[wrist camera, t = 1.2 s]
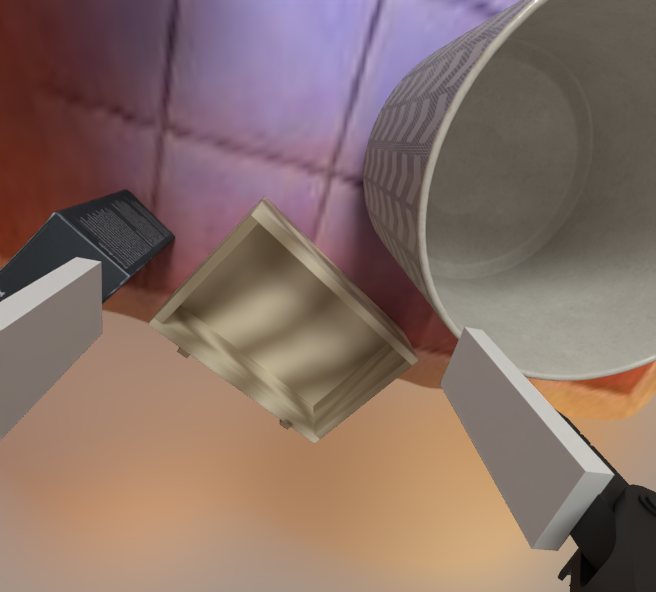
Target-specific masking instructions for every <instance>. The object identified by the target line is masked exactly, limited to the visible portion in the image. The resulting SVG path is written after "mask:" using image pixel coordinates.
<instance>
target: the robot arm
mask: <svg viewBox="0 0 656 592" xmlns="http://www.w3.org/2000/svg"><path fill="white" fill-rule="evenodd" d="M101 334H102V264H101V261H95V260H90V259H84V258H78V257H76V258H74V259H72V260H71V261H69V262H67V263H66V264H64V265H62V266H60V267H59V268H57V269H55V270H54V271H52V272H50V273H49V274H47V275H45V276H43V277H42V278H40V279H38V280H37V281H35V282H33V283H32V284H30V285H28V286H26V287H25V288H23V289H21V290H20V291H18V292H16V293H15V294H13V295H11V296H9V297H8V298H6V299H4V300H3V301H1V302H0V440H1V439H2V438H3V437H4V436H5V435H6V434H7V433H8V432H9V431H10V430H11V429H12V428H13V427H14V426H15V424H17V422H18V421H19V420H20V419H21V418H22V417H23V416H24V415H25V414H26V413H27V412H28V411H29V410H30V409H31V408H32V407H33V405H34V404H36V402H37V401H38V400H39V399H40V398H41V397H42V396H43V395H44V394H45V393H46V392H47V391H48V390H49V389H50V388H51V387H52V385H54V383H55V382H56V381H57V380H58V379H59V378H60V377H61V376H62V375H63V374H64V373H65V372H66V371H67V370H68V369H69V368H70V366H72V364H73V363H74V362H75V361H76V360H77V359H78V358H79V357H80V356H81V355H82V354H83V353H84V352H85V351H86V350H87V349H88V347H90V345H91V344H92V343H93V342H94V341H95V340H96V339H97V338H98V337H99V336H100V335H101ZM440 385H441V387H442V389H443V390H444V392H445V394H446V395H447V398H448V399H449V401H450V403H451V405H452V406H453V408H454V410H455V412H456V414H457V416H458V417H459V419H460V421H461V423H462V425H463V426H464V428H465V430H466V432H467V433H468V435H469V437H470V439H471V441H472V443H473V444H474V446H475V448H476V450H477V452H478V453H479V455H480V457H481V458H482V461H483V462H484V464H485V466H486V468H487V469H488V471H489V473H490V475H491V477H492V478H493V480H494V482H495V484H496V486H497V487H498V489H499V491H500V493H501V495H502V497H503V498H504V500H505V502H506V504H507V505H508V507H509V509H510V511H511V513H512V514H513V516H514V518H515V520H516V521H517V523H518V525H519V527H520V529H521V530H522V532H523V534H524V536H525V538H526V540H527V541H528V543H529V545H530V547H531V549H543V550H556V551H558V550H559V548H560V547H561V546H562V544H563V543H564V542H565V540H566V539H567V537H568V536H569V535H571V537H572V538H573V540H574V541H575V543H576V544H577V546H578V547H579V548H578V549H577V551H576V552H575V553H574V555H573V556H572V557H571V559H570V560H569V561H568V562H567V564H566V565H565V566H564V567H563V569H562V570H561V572H560V573H559V576H558V578H559V579H560V580H563V579H564V578H565V577H566V576H567V575H571V583H570V585H569V586H570V592H656V492H654V491H652V490H649V489H647V488H645V487H643V486H638V485H629V484H628V483H627V482H626V481H625V480H624V479H623V477H622V476H621V475H620V474H619V473H618V472H617V471H616V470H615V469H614V468H613V467H612V466H611V465H610V463H608V461H607V460H606V459H605V458H604V457H603V456H602V455H601V454H600V453H599V452H598V451H597V450H596V449H595V447H594V446H591V445H590V442H589V441H588V440H587V439H586V438H585V437H584V435H582V434H580V431H579V430H578V429H577V428H576V427H575V426H574V425H573V424H572V423H571V422H570V420H569V419H568V418H566V417H565V416H564V415H562V414H561V413H560V412H558V411H557V410H556V409H554V408H553V407H552V406H551V405H550V404H549V402H548V401H547V400H546V399H545V398H544V397H543V396H542V395H541V394H540V393H539V391H538V390H537V389H536V388H535V387H534V386H533V385H532V384H531V383H530V382H529V381H528V379H527V378H526V377H525V376H524V375H523V374H522V373H521V372H520V371H519V370H518V368H517V367H516V366H515V365H514V364H513V363H512V362H511V361H510V360H509V359H508V358H507V356H506V355H505V354H504V353H503V352H502V351H501V350H500V349H499V348H498V347H497V346H496V344H495V343H494V342H493V341H492V340H491V339H490V338H489V337H488V336H487V335H486V333H485V332H484V331H483V330H479V329H474V328H468V327H464V329H463V331H462V334H461V336H460V338H459V341H458V343H457V345H456V348H455V350H454V352H453V355H452V357H451V359H450V362H449V364H448V366H447V369H446V371H445V373H444V376H443V378H442V380H441V383H440Z"/></svg>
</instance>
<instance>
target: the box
mask: <svg viewBox="0 0 656 592" xmlns="http://www.w3.org/2000/svg"><path fill="white" fill-rule="evenodd" d="M174 238H175V236H174V235H173V234H172V233H171V232H170V231H169V230H168V229H167V228H166V227H165V226H164V225H163V224H162V223H161V222H160V221H159V220H158V219H157V218H156V217H155V216H154V215H153V214H152V213H151V212H150V211H149V210H148V209H147V208H146V207H145V206H144V205H143V204H142V203H141V202H140V201H139V200H138V199H137V198H136V197H135V196H134V195H132V194H131V192H129V191H128V190H123V191H120V192H117V193H114V194H110V195H108V196H105V197H102V198H98V199H95V200H92V201H89V202H86V203H82V204H79V205H76V206H73V207H70V208H67V209H63V210H60V211H57V212H53V213H52V215H51V216H50V218H49V219H48V220H47V221H46V222H45V223H44V225H43V226H42V227H41V228H40V229H39V230H38V231H37V232H36V233H35V234H34V235H33V236H32V237H31V239H30V240H29V241H28V242H27V243H26V244H25V245H24V246H23V247H22V249H21V250H19V251H18V252H17V253H16V254H15V255H14V256H13V257H12V259H11V260H10V261H8V263H7V264H6V265H5V266H4V267H3V268H2V269H1V270H0V302H1V301H3V300H4V299H6V298H8V297H9V296H11V295H13V294H15V293H16V292H18V291H20V290H21V289H23V288H25V287H26V286H28V285H30V284H32V283H33V282H35V281H37V280H38V279H40V278H42V277H43V276H45V275H47V274H49V273H50V272H52V271H54V270H55V269H57V268H59V267H60V266H62V265H64V264H66V263H67V262H69V261H71V260H72V259H74V258H76V257H78V258H84V259H90V260H95V261H101V264H102V304H103V303H104V302H105V301H106V300H107V299H108V298H110V297H111V296H112V295H113V294H114V293H115V292H116V291H117V290H118V289H119V288H120V287H122V286H123V285H124V284H125V283H126V282H127V281H128V280H129V279H130V278H131V277H133V276H134V275H135V274H136V273H137V272H138V271H139V270H140V269H141V268H142V267H143V266H144V265H146V264H147V263H148V262H149V261H150V260H151V259H152V258H153V257H154V256H155V255H156V254H157V253H159V252H160V251H161V250H162V249H163V248H164V247H165V246H166V245H167V244H168V243H170V242H171V241H172V240H173V239H174Z"/></svg>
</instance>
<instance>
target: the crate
mask: <svg viewBox="0 0 656 592" xmlns="http://www.w3.org/2000/svg"><path fill="white" fill-rule="evenodd" d="M148 325H150V326H151V327H152V328H154V329H155V330H157V331H158V332H160V333H161V334H162V335H164V336H165V337H167V338H168V339H169V340H171V341H172V342H174V343H175V344H176V345H178V346H179V349H178V351H177V352H179V353H180V354H182V355H183V356H184V357H186V358H187V357H188V356H189V355H192V356H193V357H194V358H196V359H197V360H199V361H200V362H201V363H203V364H204V365H205V366H207V367H208V368H210V369H211V370H212V371H214V372H215V373H217V374H218V375H219V376H221V377H222V378H224V379H225V380H226V381H228V382H229V383H231V384H232V385H233V386H235V387H236V388H238V389H239V390H240V391H242V392H243V393H245V394H246V395H247V396H249V397H250V398H252V399H253V400H255V401H256V402H257V403H259V404H260V405H261V406H263V407H264V408H265V409H267V410H268V411H270V412H271V413H272V414H274V415H275V416H277V417H278V418H280V425H282V426H283V427H284V428H286V429H288V428H289V427H292V428H293V429H295V430H296V431H298V432H299V433H300V434H302V435H303V436H305V437H306V438H307V439H309V440H310V441H312V442H313V443H314V444H315V443H316V442H317V441H318V440H320V439H321V438H322V437H323V436H325V435H326V434H327V433H328V432H330V431H331V430H332V429H333V428H335V427H336V426H337V425H338V424H340V423H341V422H342V421H344V420H345V419H346V418H347V417H349V416H350V415H351V414H352V413H353V412H355V411H356V410H357V409H359V408H360V407H361V406H362V405H364V404H365V403H366V402H367V401H369V400H370V399H371V398H372V397H373V396H375V395H376V394H377V393H379V392H380V391H381V390H382V389H384V388H385V387H386V386H387V385H389V384H390V383H391V382H392V381H394V380H395V379H396V378H397V377H399V376H400V375H401V374H402V373H404V372H405V371H406V370H407V369H409V368H410V367H411V366H412V365H414V364H415V363H416V362H417V361H419V359H418V357H417V355H416V354H415V352H414V350H413V348H412V346H411V344H410V342H409V340H408V338H407V337H406V335H405V333H404V331H403V330H402V329H401V328H400V327H399V326H398V325H397V324H396V323H395V322H394V321H393V320H392V319H391V318H390V317H388V316H387V315H386V314H385V313H384V312H383V311H382V310H381V309H380V308H379V307H378V306H377V305H376V304H375V303H374V302H373V301H372V300H371V299H370V298H369V297H368V296H367V295H366V294H365V293H364V292H363V291H362V290H361V289H360V288H359V287H358V286H357V285H356V284H354V283H353V282H352V281H351V280H350V279H349V278H348V277H347V276H346V275H345V274H344V273H343V272H342V271H341V270H340V269H339V268H338V267H337V266H336V265H335V264H334V263H333V262H332V261H331V260H330V259H329V258H328V257H327V256H326V255H325V254H324V253H323V252H321V251H320V250H319V249H318V248H317V247H316V246H315V245H314V244H313V243H312V242H311V241H310V240H309V239H308V238H307V237H306V236H305V235H304V234H303V233H302V232H301V231H300V230H299V229H298V228H297V227H296V226H295V225H294V224H293V223H292V222H291V221H290V220H289V219H287V218H286V217H285V216H284V215H283V214H282V213H281V212H280V211H279V210H278V209H277V208H276V207H275V206H274V205H273V204H272V203H271V202H270V201H269V200H268V199H267V198H266V197H265V196H264V197H263V198H262V199H261V200H260V201H259V203H258V204H257V205H256V206H255V207H254V208H253V209H252V210H251V211H250V212H249V213H248V214H247V215H246V216H245V217H244V218H243V220H242V221H241V222H240V223H239V224H238V225H237V226H236V227H235V228H234V229H233V230H232V231H231V232H230V233H229V234H228V235H227V237H226V238H225V239H224V240H223V241H222V242H221V243H220V244H219V245H218V246H217V247H216V248H215V249H214V250H213V251H212V253H211V254H210V255H209V256H208V257H207V258H206V259H205V260H204V261H203V262H202V263H201V264H200V265H199V266H198V267H197V268H196V270H195V271H194V272H193V273H192V274H191V275H190V276H189V277H188V278H187V279H186V280H185V281H184V282H183V283H182V284H181V285H180V287H179V288H178V289H177V290H176V291H175V292H174V293H173V294H172V295H171V296H170V297H169V298H168V300H167V301H166V302H165V303H164V305H163V306H162V307H161V308H160V310H159V311H158V312H157V313H156V315H155V316H154V317H153V319H152V320H151V321H150V322H149V324H148Z"/></svg>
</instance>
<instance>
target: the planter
mask: <svg viewBox="0 0 656 592" xmlns="http://www.w3.org/2000/svg"><path fill="white" fill-rule="evenodd" d="M363 183H364V195H365V202H366V206H367V211H368V214H369V217H370V220H371V222H372V225H373V227H374V229H375V231H376V233H377V235H378V236H379V238H380V240H381V241H382V243H383V244H384V245H385V247H386V248H387V249H388V251H389V252H390V253H391V255H392V256H393V257H394V258H395V260H396V261H397V262H398V264H399V265H400V266H401V268H402V269H403V270H404V271H405V273H406V274H407V275H408V277H409V278H410V279H411V281H412V282H413V283H414V285H415V286H416V287H417V288H418V290H419V291H420V292H421V294H422V295H423V296H424V298H425V299H426V300H427V301H428V303H429V304H430V305H431V307H432V308H433V309H434V311H435V312H436V313H437V315H438V316H439V317H440V318H441V320H442V321H443V322H444V324H445V325H446V326H447V328H448V329H449V330H450V331H451V332H452V334H453V335H454V336H455V337H456V338H457V339H458V340H459V338H460V336H461V334H462V331H463V329H464V327H468V328H474V329H479V330H483V331H484V332H485V333H486V335H487V336H488V337H489V338H490V339H491V340H492V341H493V342H494V343H495V344H496V346H497V347H498V348H499V349H500V350H501V351H502V352H503V353H504V354H505V355H506V356H507V358H508V359H509V360H510V361H511V362H512V363H513V364H514V365H515V366H516V367H517V368H518V370H519V371H520V372H521V373H522V374H523V375H524V376H525V377H528V378H535V379H541V380H552V381H577V380H586V379H594V378H600V377H605V376H610V375H614V374H618V373H621V372H625V371H628V370H631V369H634V368H637V367H640V366H643V365H646V364H648V363H650V362H653V361H655V360H656V0H520V1H519V2H517V3H515V4H514V5H512V6H510V7H509V8H507V9H505V10H504V11H502V12H500V13H499V14H497V15H495V16H494V17H492V18H490V19H489V20H487V21H485V22H484V23H482V24H481V25H479V26H477V27H476V28H474V29H472V30H471V31H469V32H467V33H466V34H464V35H462V36H461V37H459V38H457V39H456V40H454V41H452V42H451V43H449V44H447V45H446V46H444V47H442V48H441V49H439V50H437V51H436V52H434V53H433V54H431V55H430V56H428V57H427V58H426V59H424V60H423V61H422V62H420V63H419V64H418V65H417V66H416V67H414V68H413V69H412V70H411V71H410V72H409V73H408V74H407V75H406V76H405V77H404V78H403V79H402V81H401V82H400V83H399V84H398V86H397V87H396V88H395V89H394V90H393V92H392V93H391V95H390V96H389V98H388V99H387V101H386V102H385V104H384V106H383V108H382V110H381V111H380V113H379V115H378V117H377V120H376V122H375V124H374V126H373V129H372V132H371V135H370V138H369V142H368V146H367V150H366V155H365V161H364V173H363Z"/></svg>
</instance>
